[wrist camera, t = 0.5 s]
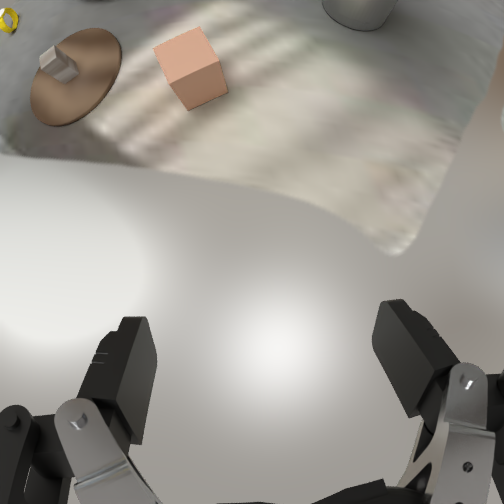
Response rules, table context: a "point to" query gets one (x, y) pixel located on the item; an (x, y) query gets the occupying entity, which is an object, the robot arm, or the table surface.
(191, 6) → the table surface
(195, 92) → the salmon pink block
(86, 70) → the post stand
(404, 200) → the table surface
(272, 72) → the table surface
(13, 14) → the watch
